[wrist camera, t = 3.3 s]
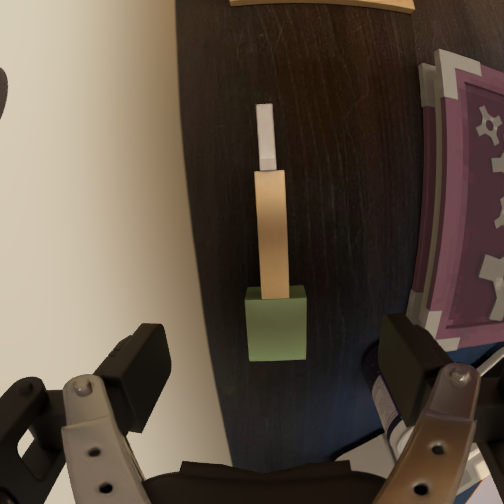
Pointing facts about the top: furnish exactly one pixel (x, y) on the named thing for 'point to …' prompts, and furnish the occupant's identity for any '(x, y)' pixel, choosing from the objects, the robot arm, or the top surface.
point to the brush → (273, 263)
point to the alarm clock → (385, 457)
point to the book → (461, 204)
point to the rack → (342, 3)
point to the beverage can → (385, 403)
